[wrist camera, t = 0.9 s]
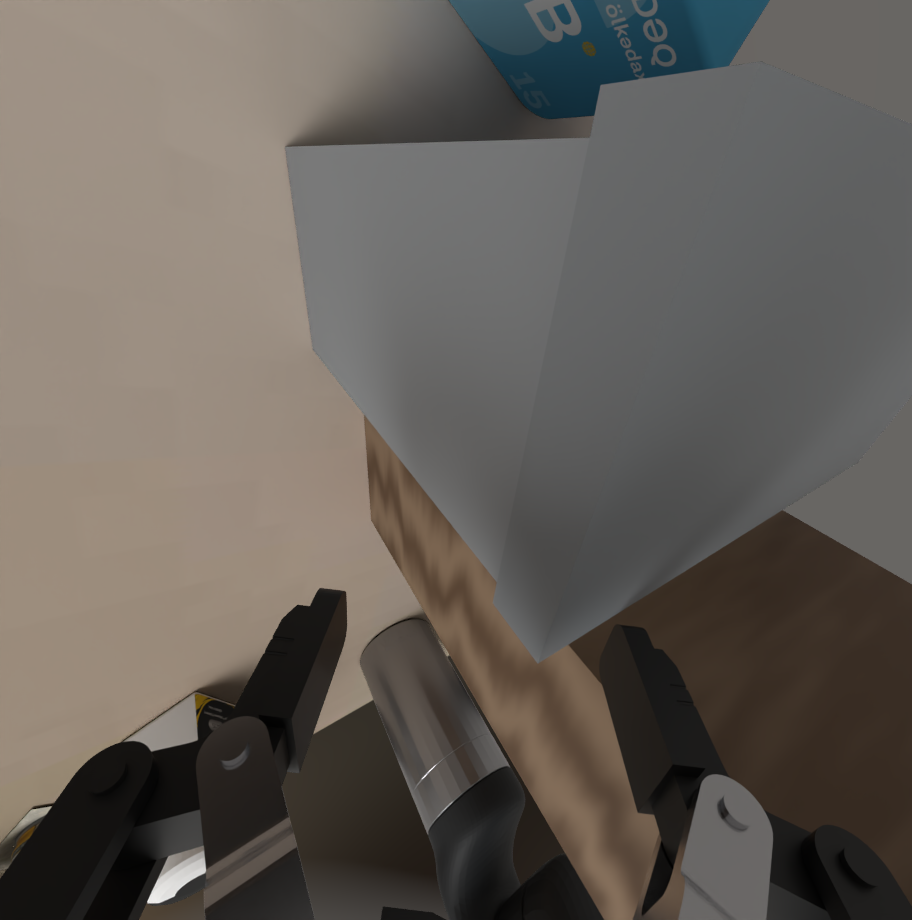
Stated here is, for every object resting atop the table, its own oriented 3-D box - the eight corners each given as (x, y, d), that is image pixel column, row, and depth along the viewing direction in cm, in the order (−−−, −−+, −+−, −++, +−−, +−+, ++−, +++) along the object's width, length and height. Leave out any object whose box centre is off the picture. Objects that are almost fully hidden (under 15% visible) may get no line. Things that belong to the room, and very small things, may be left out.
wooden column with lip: (514, 476, 43) (877, 806, 21) (369, 525, 36) (701, 1109, 14) (537, 362, 36) (1131, 691, 14) (359, 393, 28) (1047, 1212, 6)
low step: (552, 327, 34) (857, 462, 19) (309, 357, 25) (537, 663, 10) (586, 170, 28) (1076, 192, 13) (277, 132, 19) (761, 61, 4)
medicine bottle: (246, 706, 40) (269, 846, 32) (179, 755, 39) (185, 914, 31) (196, 689, 35) (208, 850, 27) (116, 743, 34) (104, 930, 26)
